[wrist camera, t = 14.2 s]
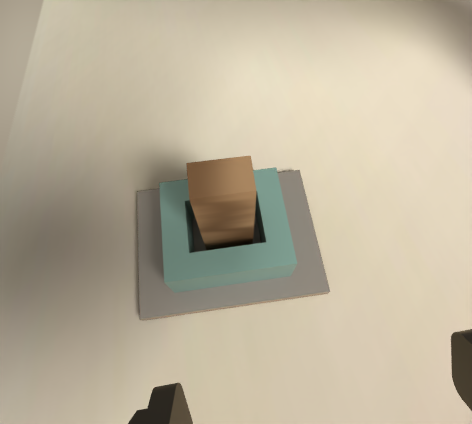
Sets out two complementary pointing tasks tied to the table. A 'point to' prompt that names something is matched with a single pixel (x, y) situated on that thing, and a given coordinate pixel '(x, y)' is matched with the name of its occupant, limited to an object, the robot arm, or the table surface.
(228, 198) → the block
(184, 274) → the teal and grey socket
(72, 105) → the table surface
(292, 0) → the table surface
